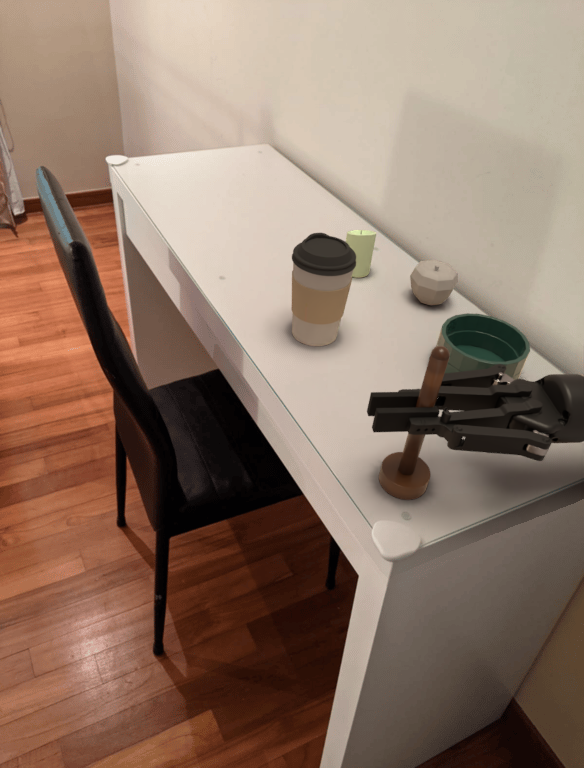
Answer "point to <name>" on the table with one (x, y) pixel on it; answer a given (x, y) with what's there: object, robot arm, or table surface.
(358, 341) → the table surface
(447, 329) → the bowl
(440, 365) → the paper towel holder
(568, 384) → the robot arm
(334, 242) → the coffee cup
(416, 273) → the beige faceted lump
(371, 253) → the candle
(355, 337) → the table surface
